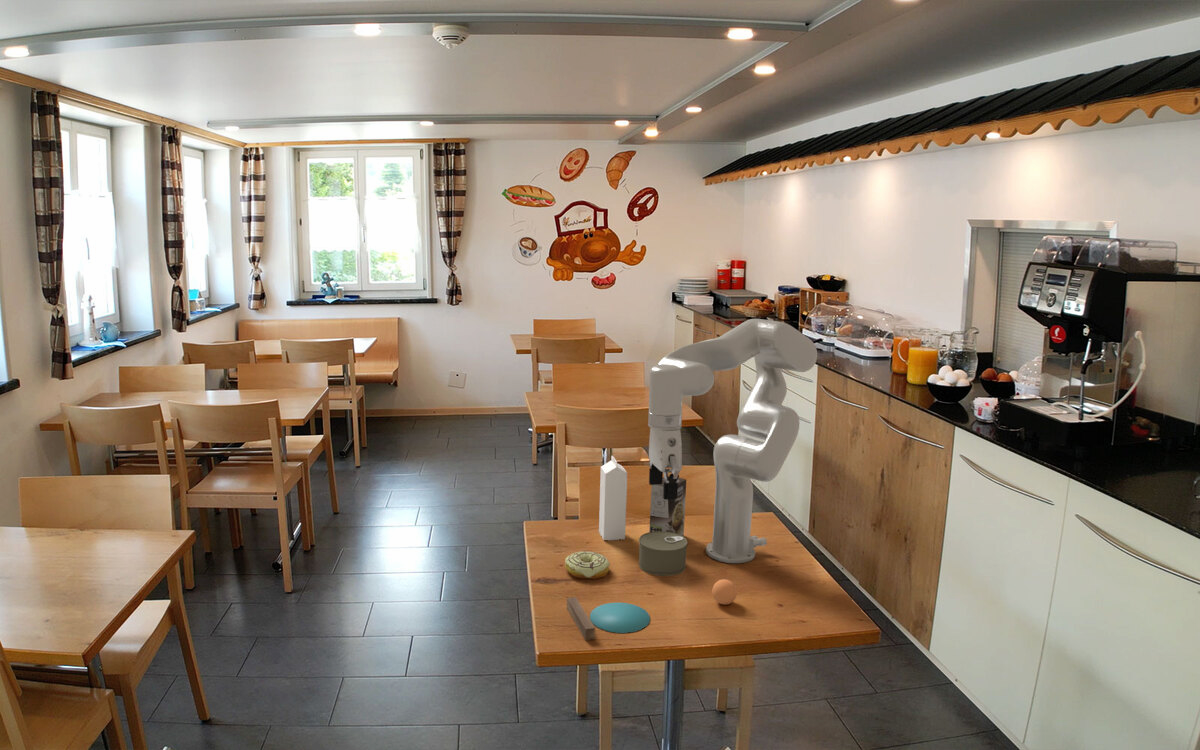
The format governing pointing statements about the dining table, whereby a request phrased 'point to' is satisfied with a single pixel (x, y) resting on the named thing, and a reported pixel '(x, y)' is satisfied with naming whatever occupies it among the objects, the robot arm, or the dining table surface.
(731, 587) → the ball
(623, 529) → the milk
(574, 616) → the rail
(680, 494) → the coffee box
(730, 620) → the dining table surface
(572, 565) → the decorated donut
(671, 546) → the can
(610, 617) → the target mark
